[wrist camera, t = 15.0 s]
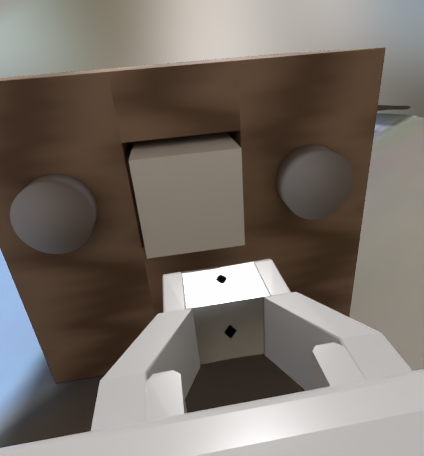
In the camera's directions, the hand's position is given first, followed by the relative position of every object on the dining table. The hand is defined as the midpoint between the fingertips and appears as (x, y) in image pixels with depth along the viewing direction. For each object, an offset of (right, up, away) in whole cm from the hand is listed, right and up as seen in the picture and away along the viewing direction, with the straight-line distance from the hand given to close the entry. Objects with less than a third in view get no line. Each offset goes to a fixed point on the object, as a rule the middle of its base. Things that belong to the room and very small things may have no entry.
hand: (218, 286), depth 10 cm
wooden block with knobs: (-1, -5, +18) cm, 18 cm away
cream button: (-1, +1, +10) cm, 10 cm away
